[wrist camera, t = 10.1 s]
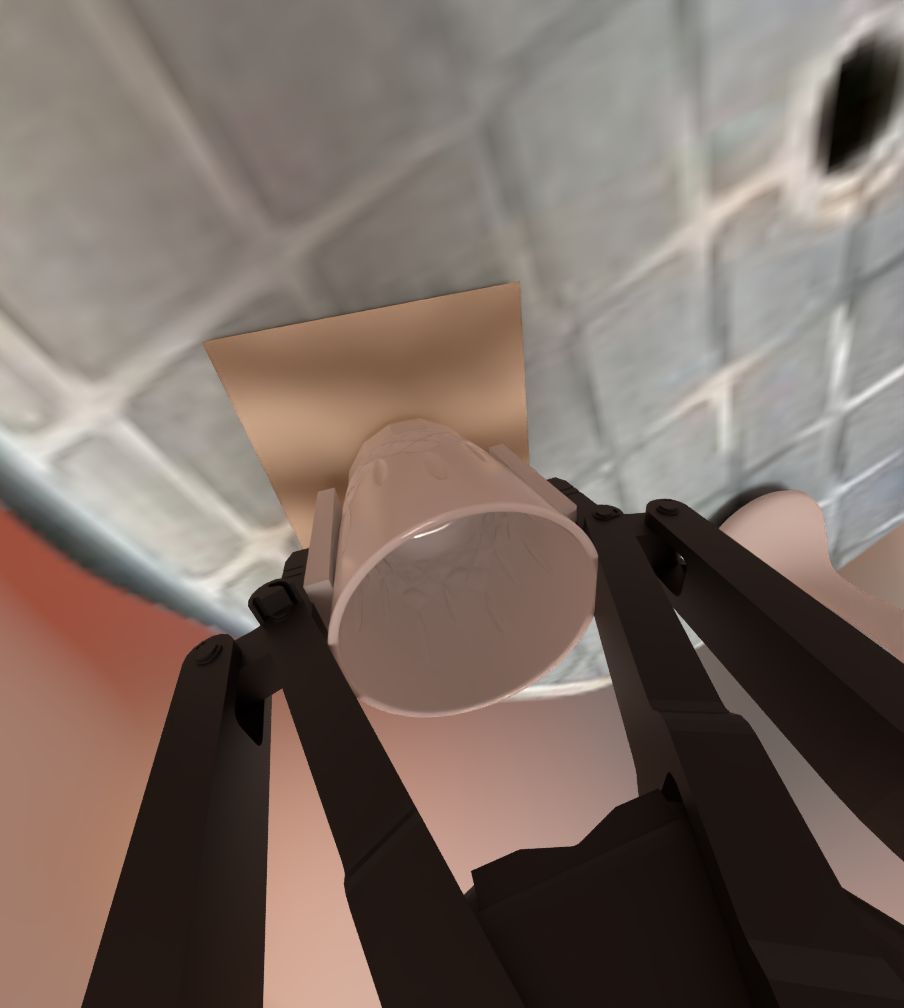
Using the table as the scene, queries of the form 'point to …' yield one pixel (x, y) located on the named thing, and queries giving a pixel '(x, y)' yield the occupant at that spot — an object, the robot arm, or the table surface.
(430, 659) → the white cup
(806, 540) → the flower in vase
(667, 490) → the table surface
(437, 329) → the birch board
